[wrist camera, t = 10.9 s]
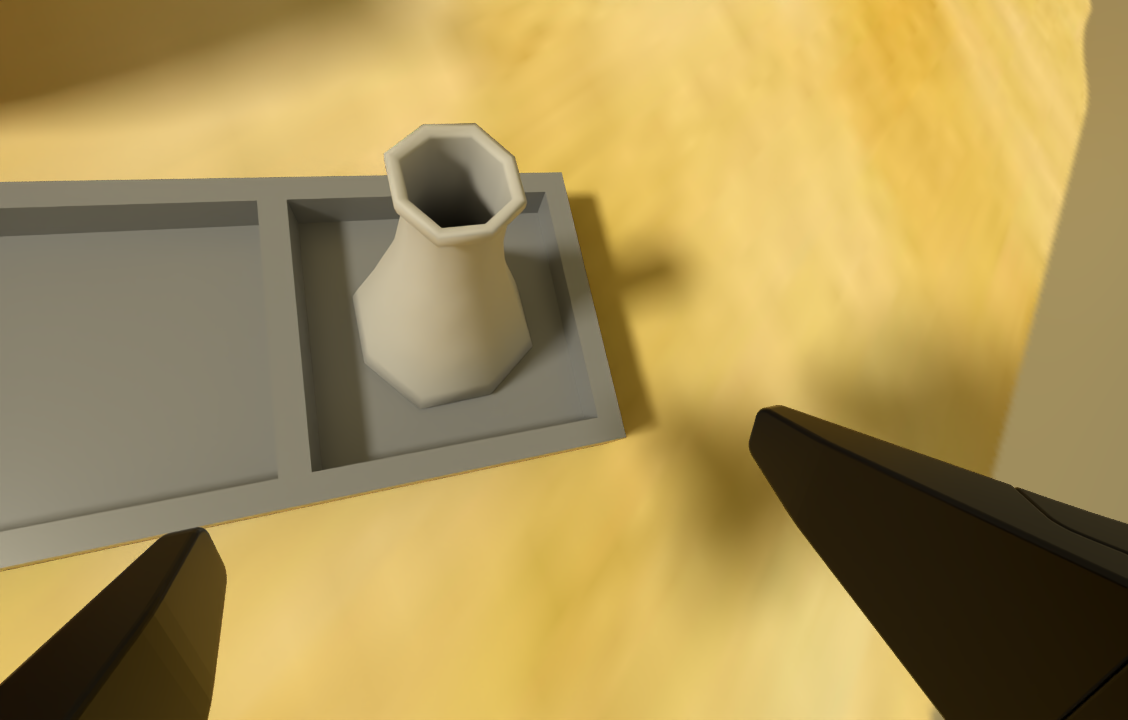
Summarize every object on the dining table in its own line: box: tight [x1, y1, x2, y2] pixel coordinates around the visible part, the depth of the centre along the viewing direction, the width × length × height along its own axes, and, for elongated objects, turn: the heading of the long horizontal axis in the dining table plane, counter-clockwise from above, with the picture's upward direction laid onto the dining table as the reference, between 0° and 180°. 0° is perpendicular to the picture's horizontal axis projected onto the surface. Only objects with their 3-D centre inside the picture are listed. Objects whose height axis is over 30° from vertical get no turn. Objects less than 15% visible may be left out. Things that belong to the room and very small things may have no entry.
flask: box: [353, 123, 532, 409], centre depth 16 cm, size 7×7×10 cm
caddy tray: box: [0, 172, 626, 572], centre depth 18 cm, size 12×24×2 cm, turn 102°
